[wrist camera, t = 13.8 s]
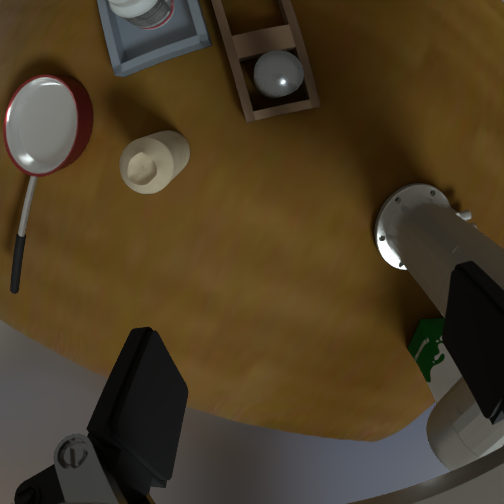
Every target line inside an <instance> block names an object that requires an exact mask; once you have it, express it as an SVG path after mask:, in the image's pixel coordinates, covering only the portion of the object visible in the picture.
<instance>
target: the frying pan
mask: <svg viewBox="0 0 504 504" xmlns="http://www.w3.org/2000/svg"><path fill="white" fill-rule="evenodd" d="M92 127H93V108H92V103H91V100H90V97H89V95H88V93H87V91H86V90H85V88H84V87H83V86H82V85H81V84H80V83H79V82H78V81H76V80H75V79H73V78H71V77H68V76H64V75H38V76H35V77H32V78H31V79H29V80H27V81H26V82H24V83H23V84H22V85H21V86H20V87H19V88H18V89H17V91H16V92H15V93H14V95H13V96H12V98H11V100H10V102H9V104H8V107H7V110H6V113H5V118H4V126H3V133H4V142H5V147H6V150H7V152H8V155H9V157H10V159H11V160H12V162H13V163H14V164H15V166H16V167H17V168H18V169H19V170H21V171H22V172H23V173H25V174H27V175H30V176H31V177H30V181H29V185H28V189H27V193H26V197H25V202H24V206H23V211H22V216H21V221H20V227H19V232H18V234H17V236H16V242H15V249H14V256H13V265H12V274H11V285H10V291H11V292H12V293H14V294H16V293H18V291H19V283H20V274H21V266H22V258H23V252H24V245H25V239H26V235H25V231H26V226H27V221H28V216H29V211H30V206H31V202H32V198H33V194H34V190H35V186H36V182H37V178H38V177H42V176H46V175H49V174H52V173H54V172H56V171H58V170H61V169H63V168H65V167H67V166H69V165H70V164H72V163H73V162H74V161H75V160H77V159H78V158H79V157H80V155H81V154H82V152H83V151H84V150H85V148H86V146H87V144H88V142H89V139H90V136H91V133H92Z"/></svg>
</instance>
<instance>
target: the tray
mask: <svg viewBox="0 0 504 504" xmlns="http://www.w3.org/2000/svg"><path fill="white" fill-rule="evenodd" d="M173 1H174V4H175V9H174V13H173V16H172V17H171V19H170V20H169V21H168V22H167V23H166V24H165V25H163V26H161V27H159V28H157V29H153V30H143V29H140V28H138V27H136V26H135V25H133V24H131V23H130V22H128V21H127V20H125V19H123V18H121V17H120V16H118V15H116V14H115V13H114V12H113V11H112V10H111V8H110V5H109V1H108V0H97V3H98V8H99V12H100V17H101V22H102V26H103V30H104V35H105V39H106V43H107V47H108V51H109V55H110V59H111V63H112V67H113V71H114V74H115V76H121V77H126V76H128V75H131V74H133V73H135V72H138V71H140V70H143V69H145V68H148V67H150V66H153V65H155V64H158V63H161V62H163V61H166V60H169V59H172V58H175V57H178V56H180V55H183V54H186V53H190V52H193V51H196V50H199V49H202V48H206V47H209V46H212V43H211V39H210V36H209V32H208V29H207V26H206V22H205V19H204V16H203V12H202V9H201V6H200V2H199V0H173Z"/></svg>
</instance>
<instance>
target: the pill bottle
mask: <svg viewBox="0 0 504 504" xmlns="http://www.w3.org/2000/svg"><path fill="white" fill-rule="evenodd" d="M108 1H109V5H110V8H111V10H112V11H113V12H114V13H115V14H116V15H118V16H120V17H121V18H123V19H125V20H127V21H128V22H130V23H131V24H133V25H135V26H136V27H138V28H140V29H143V30H153V29H157V28H159V27H161V26H163V25H165V24H166V23H167V22H168V21H169V20H170V19H171V17H172V16H173V13H174V9H175V4H174V1H173V0H108Z"/></svg>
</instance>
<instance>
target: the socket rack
mask: <svg viewBox="0 0 504 504" xmlns="http://www.w3.org/2000/svg"><path fill="white" fill-rule="evenodd" d="M211 2H212V5H213V8H214V11H215V15H216V18H217V21H218V25H219V28H220V31H221V35H222V38H223V41H224V45H225V48H226V52H227V55H228V59H229V62H230V65H231V69H232V72H233V76H234V79H235V83H236V87H237V90H238V94H239V97H240V101H241V104H242V108H243V112H244V115H245V119H246V123H247V122H251V121H256V120H260V119H264V118H268V117H273V116H277V115H282V114H286V113H291V112H296V111H301V110H306V109H311V108H317V107H321V105H320V101H319V97H318V93H317V89H316V85H315V81H314V77H313V73H312V70H311V66H310V62H309V59H308V55H307V51H306V48H305V44H304V41H303V38H302V34H301V31H300V28H299V25H298V21H297V18H296V15H295V12H294V9H293V6H292V3H291V0H277V2H278V5H279V8H280V11H281V14H282V17H283V20H284V23H285V25H282V26H277V27H271V28H266V29H261V30H256V31H252V32H247V33H243V34H238V35H234V36H232V35H231V32H230V28H229V25H228V22H227V18H226V15H225V12H224V9H223V5H222V2H221V0H211ZM275 50H282V51H286V52H289V51H293V53H294V56H295V57H297V59H298V60H299V61H300V62H301V64H302V67H303V70H304V77H303V81H302V87H303V90H304V94H305V98H306V100H304V101H299V102H294V103H289V104H284V105H279V106H275V107H270V108H266V109H262V110H257V111H253V109H252V105H251V101H250V98H249V94H248V90H247V87H246V83H245V80H244V76H243V73H242V69H241V66H240V62H241V61H246V60H250V59H254V58H259V57H261V56H262V55H264V54H265V53H267V52H270V51H275Z"/></svg>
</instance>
